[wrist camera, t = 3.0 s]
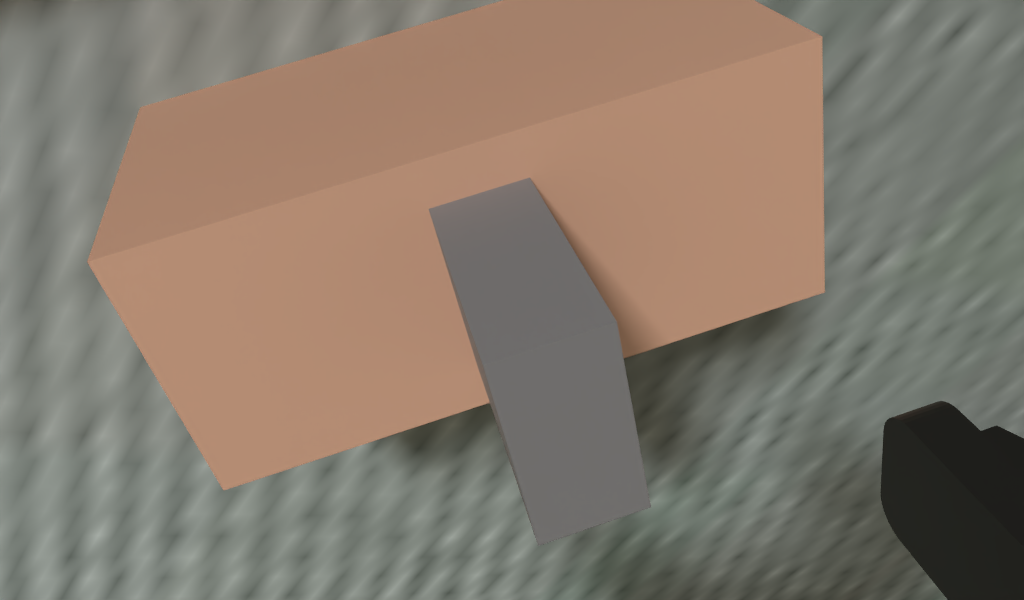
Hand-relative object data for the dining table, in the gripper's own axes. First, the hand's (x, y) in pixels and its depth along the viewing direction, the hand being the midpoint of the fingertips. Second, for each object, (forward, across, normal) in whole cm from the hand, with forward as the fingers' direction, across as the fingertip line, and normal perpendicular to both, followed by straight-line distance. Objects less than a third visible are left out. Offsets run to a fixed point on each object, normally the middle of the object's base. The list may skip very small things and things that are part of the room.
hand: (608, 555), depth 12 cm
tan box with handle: (+15, 0, 0) cm, 15 cm away
